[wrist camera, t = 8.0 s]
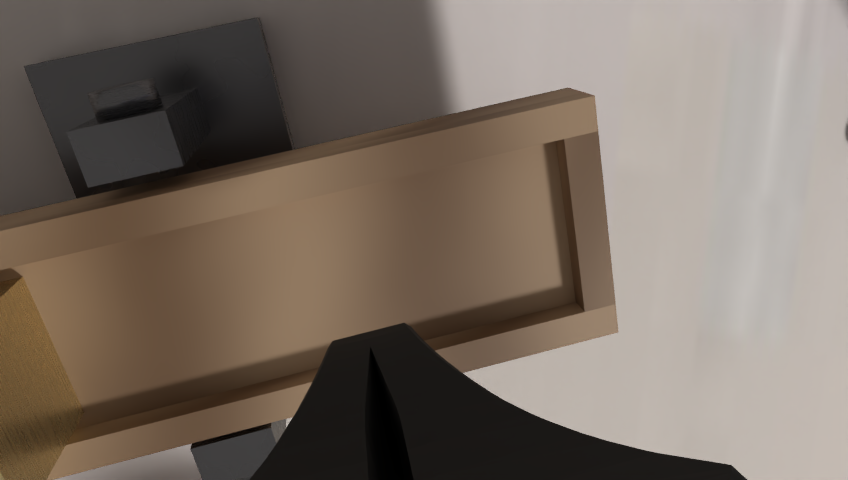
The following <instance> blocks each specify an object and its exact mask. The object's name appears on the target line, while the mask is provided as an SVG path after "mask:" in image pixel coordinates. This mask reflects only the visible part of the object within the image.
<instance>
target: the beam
mask: <svg viewBox="0 0 848 480" xmlns="http://www.w3.org/2000/svg"><path fill="white" fill-rule="evenodd" d="M19 277H23V278H24V280H25V282H26V285H27V287H28V289H29V291H30V293H31V296H32V298H33V300H34V302H35V304H36V307H37V309H38V311H39V313H40V316H41V318H42V320H43V322H44V324H45V327H46V329H47V331H48V333H49V335H50V338H51V340H52V342H53V344H54V347H55V349H56V351H57V353H58V355H59V358H60V360H61V362H62V364H63V366H64V369H65V371H66V373H67V375H68V378H69V380H70V382H71V384H72V386H73V389H74V391H75V393H76V395H77V397H78V400H79V402H80V404H81V406H82V408H83V411H84V414H83V416H82V418H81V419H80V421H79V423H78V425H77V426H76V428H75V430H74V432H73V434H72V435H71V437H70V439H69V441H68V442H67V444H66V446H65V448H64V450H63V451H62V453H61V455H60V457H59V458H58V460H57V462H56V464H55V465H54V467H53V469H52V471H51V473H50V474H49V476H48V478H47V480H53V479H57V478H61V477H64V476H68V475H72V474H76V473H80V472H84V471H87V470H91V469H95V468H99V467H103V466H107V465H111V464H114V463H118V462H122V461H126V460H130V459H134V458H137V457H141V456H145V455H149V454H153V453H157V452H160V451H164V450H168V449H172V448H176V447H180V446H183V445H187V444H191V443H195V442H199V441H203V440H206V439H210V438H214V437H218V436H222V435H226V434H230V433H233V432H237V431H241V430H245V429H249V428H253V427H256V426H260V425H264V424H268V423H272V422H276V421H279V420H283V419H287V418H291V417H294V415H295V413H296V411H297V410H298V408H299V406H300V404H301V402H302V400H303V399H304V397H305V395H306V393H307V391H308V389H309V387H310V386H311V384H312V382H313V379H314V377H315V375H316V373H317V371H318V369H319V367H320V365H321V363H322V360H323V358H324V356H325V353H326V351H327V349H328V347H329V346H330V344H331V343H332V341H334V340H338V339H342V338H346V337H350V336H354V335H357V334H361V333H365V332H369V331H373V330H377V329H381V328H385V327H389V326H393V325H397V324H401V323H406V324H408V325H409V326H411V327H412V328H413V329H414V330H415V332H416V333H417V334H418V335H419V336H420V337H421V338H422V339H423V340H424V341H425V342H426V343H427V344H428V345H429V346H430V347H431V348H432V349H433V350H435V351H436V352H437V353H438V354H439V355H440V356H441V357H443V358H444V359H445V360H446V361H448V362H449V363H450V364H451V365H453V366H454V367H455V368H457V369H458V370H459V371H460V372H462V373H464V372H467V371H471V370H475V369H479V368H483V367H487V366H490V365H494V364H498V363H502V362H506V361H510V360H514V359H517V358H521V357H525V356H529V355H533V354H537V353H540V352H544V351H548V350H552V349H556V348H560V347H563V346H567V345H571V344H575V343H579V342H583V341H586V340H590V339H594V338H598V337H602V336H606V335H609V334H613V333H617V332H618V324H617V314H616V304H615V294H614V284H613V274H612V264H611V254H610V245H609V235H608V225H607V215H606V205H605V195H604V185H603V175H602V165H601V155H600V145H599V135H598V125H597V115H596V105H595V96H594V95H591V94H587V93H584V92H581V91H577V90H574V89H571V88H565V89H560V90H556V91H551V92H547V93H542V94H538V95H534V96H529V97H525V98H520V99H516V100H511V101H507V102H503V103H498V104H494V105H489V106H485V107H480V108H476V109H472V110H467V111H463V112H458V113H454V114H450V115H445V116H441V117H436V118H432V119H427V120H423V121H419V122H414V123H410V124H405V125H401V126H396V127H392V128H388V129H383V130H379V131H374V132H370V133H365V134H361V135H357V136H352V137H348V138H343V139H339V140H334V141H330V142H326V143H321V144H317V145H312V146H308V147H303V148H299V149H295V150H290V151H286V152H281V153H277V154H272V155H268V156H264V157H259V158H255V159H250V160H246V161H242V162H237V163H233V164H228V165H224V166H219V167H215V168H211V169H206V170H202V171H197V172H193V173H188V174H184V175H180V176H175V177H171V178H166V179H162V180H157V181H153V182H149V183H144V184H140V185H135V186H131V187H126V188H122V189H118V190H113V191H109V192H104V193H100V194H95V195H91V196H87V197H82V198H78V199H73V200H69V201H64V202H60V203H56V204H51V205H47V206H42V207H38V208H33V209H29V210H25V211H20V212H16V213H11V214H7V215H3V216H0V282H2V281H6V280H11V279H15V278H19Z"/></svg>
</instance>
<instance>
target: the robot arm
mask: <svg viewBox="0 0 848 480" xmlns="http://www.w3.org/2000/svg"><path fill="white" fill-rule="evenodd" d="M249 480H747V479H746V478H745V477H743V476H742V475H741V474H740V473H739V472H738V471H737V470H736V469H735V468H734V467H733V466H731V465H727V464H721V463H715V462H709V461H703V460H697V459H690V458H684V457H678V456H672V455H666V454H660V453H654V452H650V451H645V450H641V449H637V448H633V447H629V446H625V445H621V444H617V443H613V442H609V441H606V440H602V439H599V438H596V437H592V436H589V435H586V434H582V433H580V432H577V431H574V430H571V429H569V428H566V427H563V426H560V425H558V424H555V423H552V422H550V421H547V420H545V419H542V418H540V417H538V416H535V415H533V414H531V413H528V412H526V411H524V410H522V409H520V408H518V407H516V406H514V405H512V404H510V403H508V402H506V401H504V400H503V399H501V398H499V397H498V396H496V395H494V394H493V393H491V392H489V391H488V390H486V389H485V388H483V387H482V386H480V385H479V384H477V383H476V382H474V381H473V380H471V379H470V378H469V377H467V376H466V375H464V374H463V373H462V372H460V371H459V370H458V369H457V368H455V367H454V366H453V365H451V364H450V363H449V362H448V361H446V360H445V359H444V358H443V357H441V356H440V355H439V354H438V353H437V352H436V351H435V350H433V349H432V348H431V347H430V346H429V345H428V344H427V343H426V342H425V341H424V340H423V339H422V338H421V337H420V336H419V335H418V334H417V333H416V332H415V330H414V329H413V328H412V327H411V326H409V325H408V324H406V323H401V324H397V325H393V326H389V327H385V328H381V329H377V330H373V331H369V332H365V333H361V334H357V335H354V336H350V337H346V338H342V339H338V340H334V341H332V343H331V344H330V346H329V347H328V349H327V351H326V353H325V356H324V358H323V360H322V363H321V365H320V367H319V369H318V371H317V373H316V375H315V377H314V379H313V382H312V384H311V386H310V387H309V389H308V391H307V393H306V395H305V397H304V399H303V400H302V402H301V404H300V406H299V408H298V410H297V411H296V413H295V415H294V417H293V418H292V420H291V421H290V423H289V424H288V426H287V428H286V429H285V431H284V432H283V434H282V435H281V437H280V439H279V440H278V442H277V443H276V445H275V446H274V448H273V449H272V451H271V452H270V454H269V455H268V456H267V458H266V459H265V461H264V462H263V463H262V465H261V466H260V467H259V468H258V469H257V471H256V472H255V473H254V474H253V476H252V477H251V478H250V479H249Z"/></svg>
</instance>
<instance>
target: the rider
mask: <svg viewBox="0 0 848 480" xmlns="http://www.w3.org/2000/svg"><path fill="white" fill-rule="evenodd" d="M83 414H84V411H83V408H82V406H81V404H80V402H79V400H78V397H77V395H76V393H75V391H74V389H73V386H72V384H71V382H70V380H69V378H68V375H67V373H66V371H65V369H64V366H63V364H62V362H61V360H60V358H59V355H58V353H57V351H56V349H55V347H54V344H53V342H52V340H51V338H50V335H49V333H48V331H47V329H46V327H45V324H44V322H43V320H42V318H41V316H40V313H39V311H38V309H37V307H36V304H35V302H34V300H33V298H32V296H31V293H30V291H29V289H28V287H27V285H26V282H25V280H24V278H23V277H19V278H15V279H11V280H6V281H2V282H0V480H47V478H48V476H49V474H50V473H51V471H52V469H53V467H54V465H55V464H56V462H57V460H58V458H59V457H60V455H61V453H62V451H63V450H64V448H65V446H66V444H67V442H68V441H69V439H70V437H71V435H72V434H73V432H74V430H75V428H76V426H77V425H78V423H79V421H80V419H81V418H82V416H83Z"/></svg>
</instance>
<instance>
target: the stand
mask: <svg viewBox="0 0 848 480" xmlns="http://www.w3.org/2000/svg"><path fill="white" fill-rule="evenodd" d="M24 68H25V71H26V73H27V76H28V78H29V81H30V83H31V86H32V88H33V91H34V93H35V96H36V98H37V101H38V103H39V105H40V108H41V110H42V113H43V115H44V118H45V120H46V123H47V125H48V128H49V130H50V133H51V135H52V138H53V140H54V143H55V145H56V148H57V150H58V153H59V155H60V158H61V160H62V163H63V165H64V168H65V170H66V173H67V175H68V178H69V180H70V183H71V185H72V188H73V190H74V193H75V195H76V198H77V199H78V198H82V197H87V196H91V195H95V194H100V193H104V192H109V191H113V190H118V189H122V188H126V187H131V186H135V185H140V184H144V183H149V182H153V181H157V180H162V179H166V178H171V177H175V176H180V175H184V174H188V173H193V172H197V171H202V170H206V169H211V168H215V167H219V166H224V165H228V164H233V163H237V162H242V161H246V160H250V159H255V158H259V157H264V156H268V155H272V154H277V153H281V152H286V151H290V150H295V149H294V146H293V142H292V138H291V134H290V131H289V127H288V123H287V120H286V116H285V112H284V109H283V105H282V101H281V97H280V94H279V90H278V86H277V83H276V79H275V75H274V71H273V68H272V64H271V60H270V57H269V53H268V49H267V45H266V42H265V38H264V34H263V31H262V27H261V23H260V19H259V18H254V19H249V20H244V21H240V22H235V23H230V24H225V25H220V26H215V27H211V28H206V29H201V30H196V31H191V32H187V33H182V34H177V35H172V36H167V37H163V38H158V39H153V40H148V41H143V42H138V43H134V44H129V45H124V46H119V47H114V48H110V49H105V50H100V51H95V52H90V53H86V54H81V55H76V56H71V57H66V58H62V59H57V60H52V61H47V62H42V63H37V64H33V65H28V66H24ZM285 429H286V419H283V420H279V421H276V422H272V423H268V424H264V425H260V426H256V427H253V428H249V429H245V430H241V431H237V432H233V433H230V434H226V435H222V436H218V437H214V438H210V439H206V440H203V441H199V442H195V443H192V445H191V451H192V454H193V457H194V459H195V462H196V464H197V467H198V469H199V472H200V474H201V477H202V480H249V479H250V478H251V477H252V476H253V474H254V473H255V472H256V471H257V469H258V468H259V467H260V466H261V465H262V463H263V462H264V461H265V459H266V458H267V456H268V455H269V454H270V452H271V451H272V449H273V448H274V446H275V445H276V443H277V442H278V440H279V439H280V437H281V435H282V434H283V432H284V431H285Z"/></svg>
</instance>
